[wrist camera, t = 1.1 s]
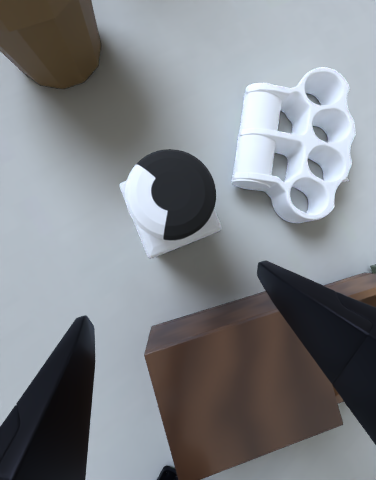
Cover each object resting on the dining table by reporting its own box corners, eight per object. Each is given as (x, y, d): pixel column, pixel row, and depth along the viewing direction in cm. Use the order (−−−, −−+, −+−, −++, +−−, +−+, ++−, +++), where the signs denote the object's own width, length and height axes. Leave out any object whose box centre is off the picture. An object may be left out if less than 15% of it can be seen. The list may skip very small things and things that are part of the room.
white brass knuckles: (244, 75, 26) (349, 98, 27) (224, 211, 25) (332, 230, 26) (255, 49, 22) (374, 77, 23) (232, 206, 21) (356, 227, 23)
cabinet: (275, 287, 25) (309, 301, 19) (301, 380, 25) (343, 424, 19) (151, 326, 24) (143, 354, 18) (178, 424, 24) (180, 487, 18)
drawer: (406, 254, 26) (456, 256, 21) (429, 335, 26) (484, 355, 21) (268, 297, 24) (290, 309, 20) (292, 384, 24) (320, 417, 20)
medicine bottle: (187, 180, 25) (202, 119, 13) (209, 234, 25) (243, 223, 13) (133, 201, 24) (95, 157, 12) (155, 255, 24) (138, 266, 12)
